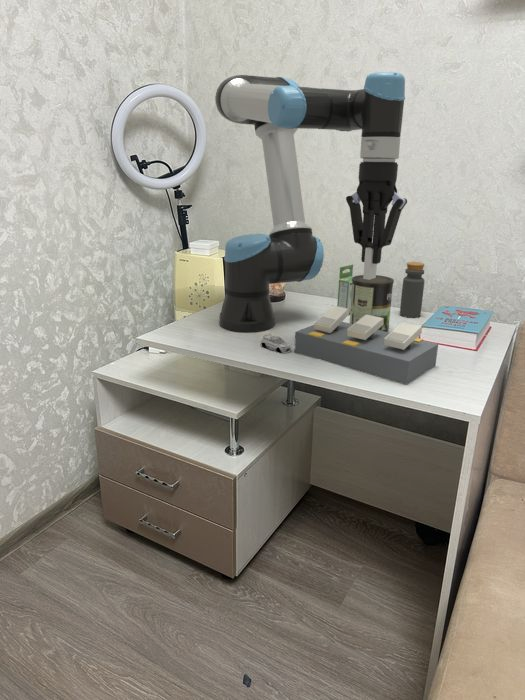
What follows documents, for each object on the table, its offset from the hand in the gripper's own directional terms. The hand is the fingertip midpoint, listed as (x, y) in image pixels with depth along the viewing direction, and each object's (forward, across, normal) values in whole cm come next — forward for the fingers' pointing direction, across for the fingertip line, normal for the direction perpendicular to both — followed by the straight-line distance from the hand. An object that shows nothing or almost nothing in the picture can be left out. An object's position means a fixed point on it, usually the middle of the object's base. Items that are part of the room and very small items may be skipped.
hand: (369, 278), depth 112 cm
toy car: (+19, -19, -8) cm, 28 cm away
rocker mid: (+11, 0, 0) cm, 11 cm away
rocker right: (+11, +9, 0) cm, 14 cm away
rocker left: (+11, -9, 0) cm, 14 cm away
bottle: (+19, -8, +40) cm, 45 cm away
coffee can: (+19, -9, +18) cm, 27 cm away
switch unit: (+18, 0, 0) cm, 18 cm away
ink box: (+19, -23, +31) cm, 43 cm away
